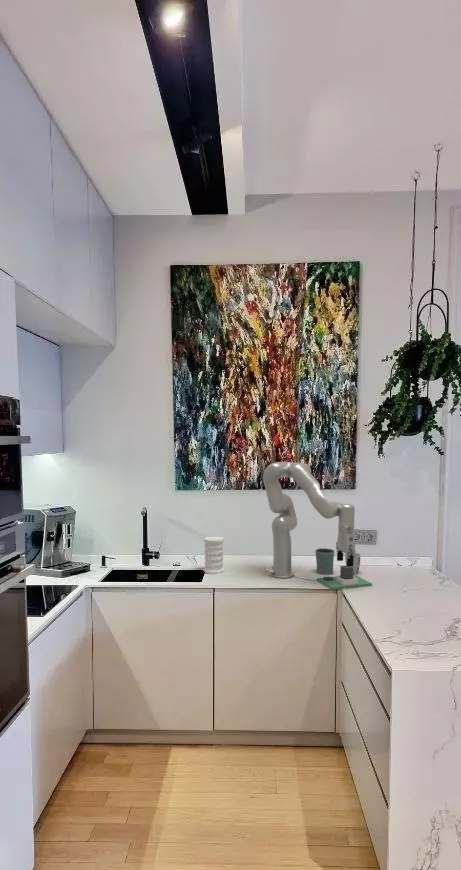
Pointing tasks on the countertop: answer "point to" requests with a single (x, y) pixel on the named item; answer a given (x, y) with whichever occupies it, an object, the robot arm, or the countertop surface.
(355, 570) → the cup
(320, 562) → the dark grey open cylinder
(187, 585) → the countertop surface
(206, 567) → the decorative container
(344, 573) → the plug
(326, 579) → the board
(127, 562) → the countertop surface
